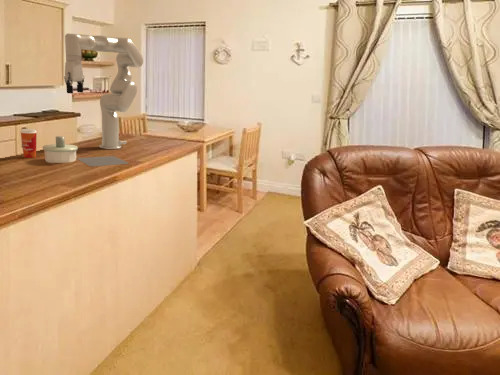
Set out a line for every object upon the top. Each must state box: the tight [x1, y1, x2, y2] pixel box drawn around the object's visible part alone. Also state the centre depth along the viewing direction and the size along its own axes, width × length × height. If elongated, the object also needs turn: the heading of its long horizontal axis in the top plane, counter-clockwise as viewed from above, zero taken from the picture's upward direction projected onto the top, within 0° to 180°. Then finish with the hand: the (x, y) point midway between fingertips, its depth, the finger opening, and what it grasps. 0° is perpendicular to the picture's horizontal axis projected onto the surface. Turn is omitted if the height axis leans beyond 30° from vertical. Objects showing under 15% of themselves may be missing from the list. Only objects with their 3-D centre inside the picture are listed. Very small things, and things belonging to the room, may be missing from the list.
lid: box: [42, 136, 79, 152], centre depth 214 cm, size 16×16×6 cm
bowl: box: [43, 150, 77, 164], centre depth 215 cm, size 14×14×6 cm
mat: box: [76, 155, 130, 168], centre depth 221 cm, size 20×20×1 cm
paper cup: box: [19, 128, 38, 159], centre depth 217 cm, size 8×8×14 cm
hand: (75, 92), depth 227 cm, fingers open, 9 cm apart
